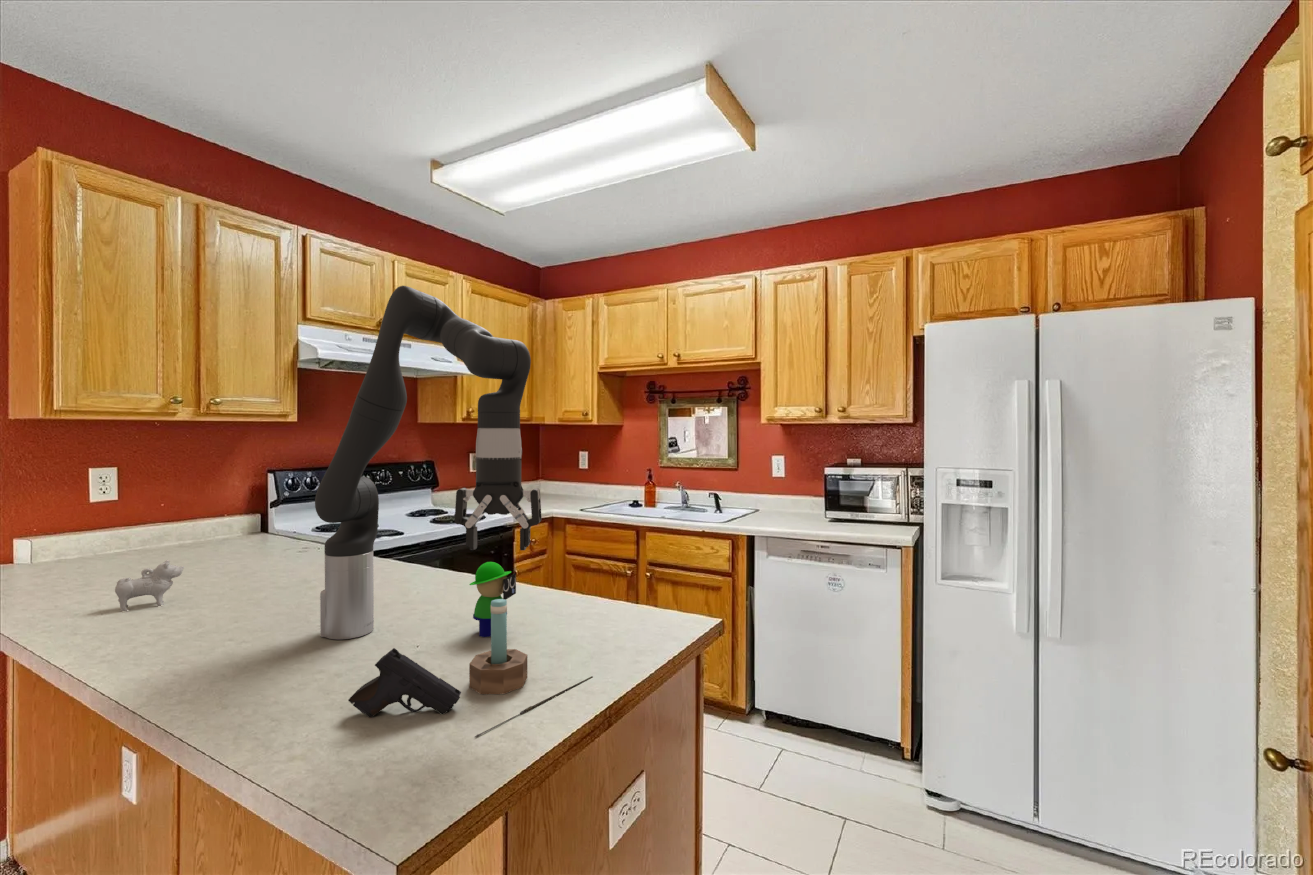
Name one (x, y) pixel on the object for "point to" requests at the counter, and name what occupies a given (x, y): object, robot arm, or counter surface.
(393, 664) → the handgun
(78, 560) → the counter surface
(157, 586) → the grey pig charm
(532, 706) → the paintbrush
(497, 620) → the teal capped tube
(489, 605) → the toy
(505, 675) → the bead
